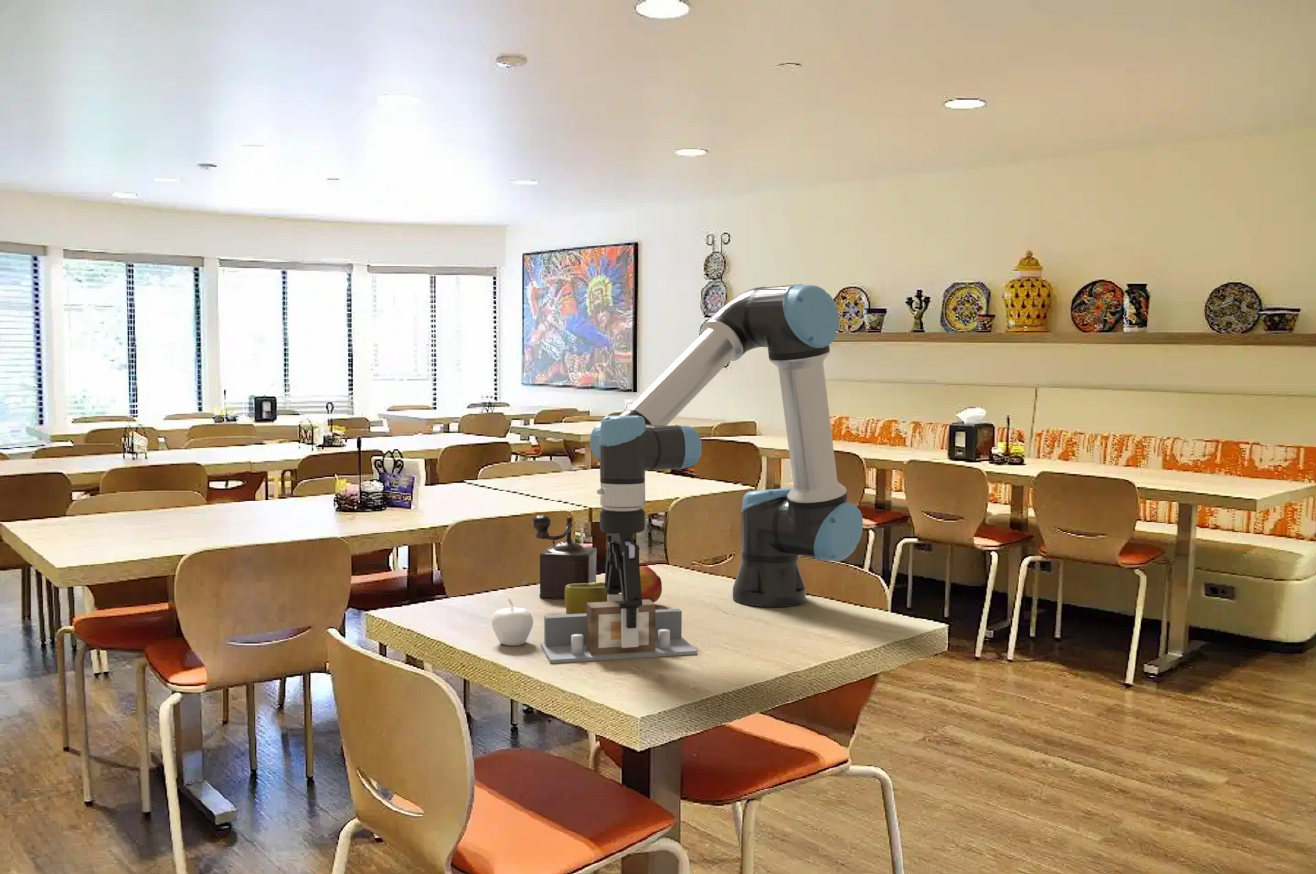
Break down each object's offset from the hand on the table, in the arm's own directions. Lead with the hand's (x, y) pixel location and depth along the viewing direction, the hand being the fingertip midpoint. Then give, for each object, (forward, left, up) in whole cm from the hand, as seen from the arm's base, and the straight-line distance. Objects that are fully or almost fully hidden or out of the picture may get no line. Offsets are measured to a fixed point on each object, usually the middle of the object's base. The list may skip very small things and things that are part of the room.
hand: (622, 639), depth 184 cm
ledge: (0, -3, -3) cm, 4 cm away
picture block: (0, -1, -2) cm, 2 cm away
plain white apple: (+17, -12, -3) cm, 21 cm away
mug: (+1, -22, -3) cm, 22 cm away
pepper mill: (+2, -47, -3) cm, 47 cm away
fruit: (-12, -35, -3) cm, 37 cm away
